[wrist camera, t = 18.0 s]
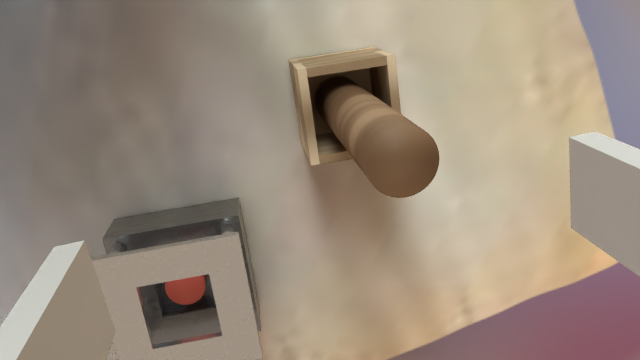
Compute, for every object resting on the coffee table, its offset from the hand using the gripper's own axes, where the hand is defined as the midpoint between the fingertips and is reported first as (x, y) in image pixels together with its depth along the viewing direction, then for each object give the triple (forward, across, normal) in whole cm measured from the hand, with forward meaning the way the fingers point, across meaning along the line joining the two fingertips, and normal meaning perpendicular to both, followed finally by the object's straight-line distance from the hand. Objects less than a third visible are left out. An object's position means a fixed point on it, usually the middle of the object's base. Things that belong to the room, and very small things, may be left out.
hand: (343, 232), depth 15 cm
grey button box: (+30, -10, -14) cm, 35 cm away
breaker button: (+28, -10, -14) cm, 33 cm away
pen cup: (+30, +5, -3) cm, 31 cm away
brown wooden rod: (+30, +5, -3) cm, 30 cm away
